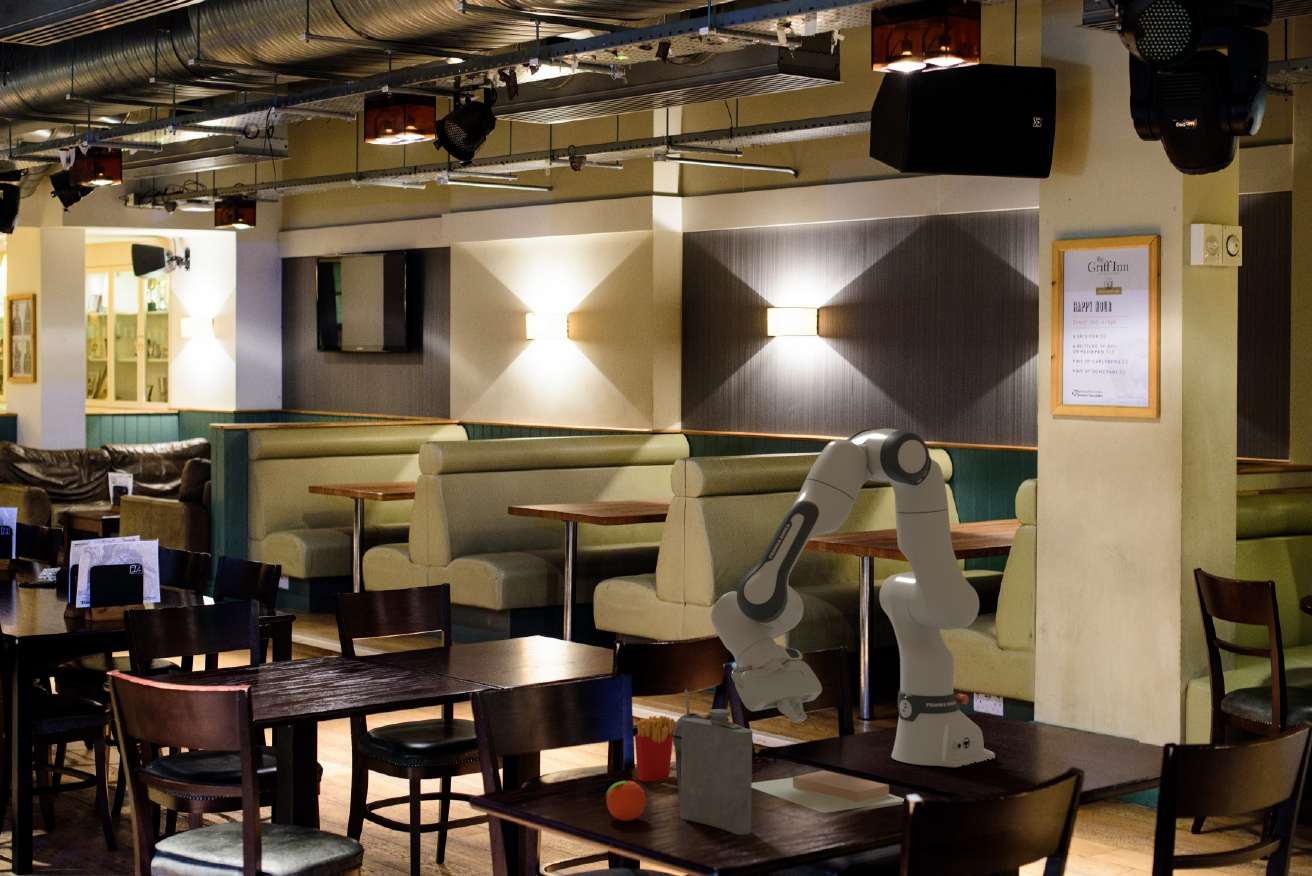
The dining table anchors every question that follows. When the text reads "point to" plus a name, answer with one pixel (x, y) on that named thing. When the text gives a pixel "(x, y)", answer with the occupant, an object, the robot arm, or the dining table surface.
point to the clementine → (626, 800)
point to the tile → (841, 786)
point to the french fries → (654, 748)
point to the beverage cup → (678, 740)
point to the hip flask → (716, 772)
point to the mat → (820, 797)
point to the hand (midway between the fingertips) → (800, 720)
